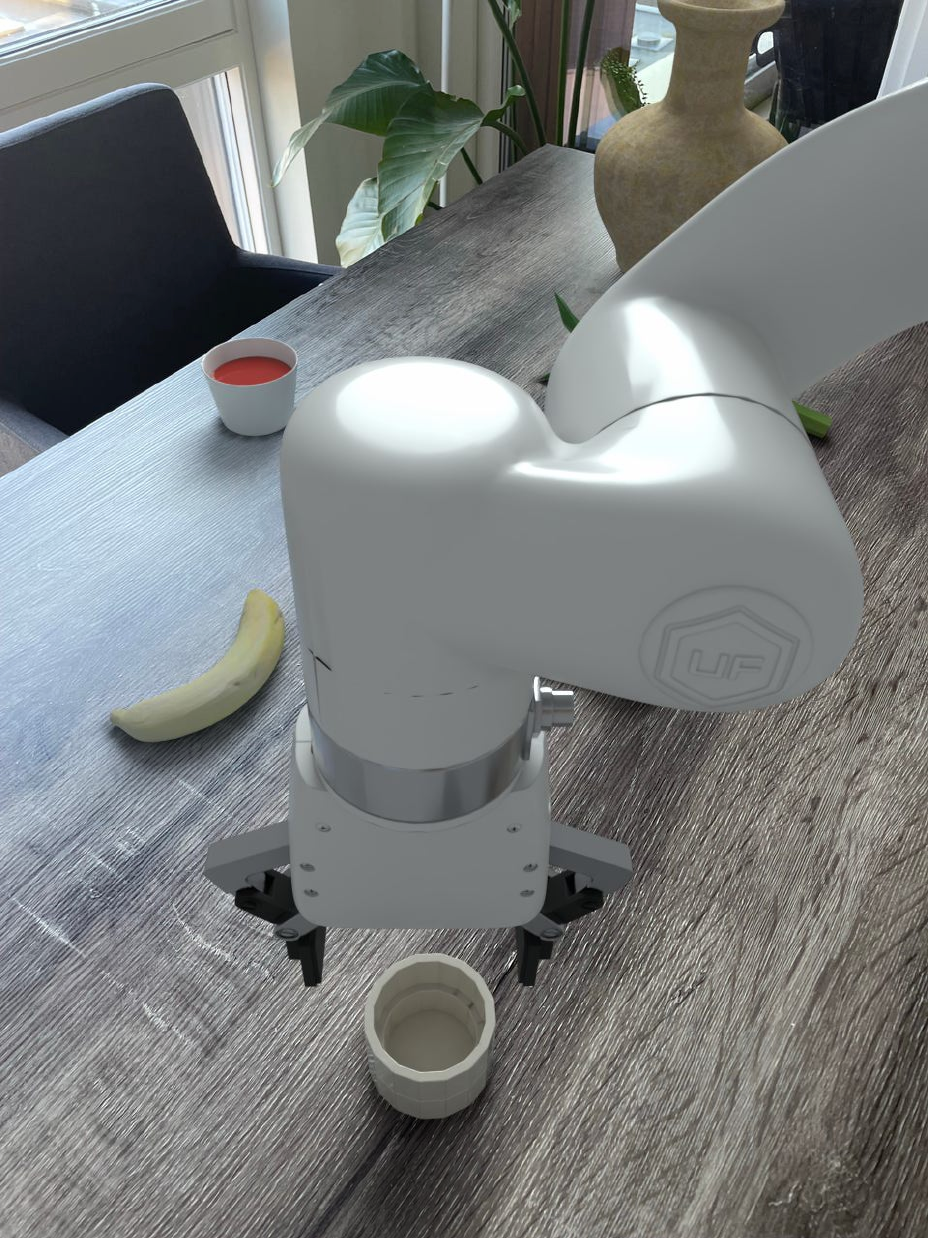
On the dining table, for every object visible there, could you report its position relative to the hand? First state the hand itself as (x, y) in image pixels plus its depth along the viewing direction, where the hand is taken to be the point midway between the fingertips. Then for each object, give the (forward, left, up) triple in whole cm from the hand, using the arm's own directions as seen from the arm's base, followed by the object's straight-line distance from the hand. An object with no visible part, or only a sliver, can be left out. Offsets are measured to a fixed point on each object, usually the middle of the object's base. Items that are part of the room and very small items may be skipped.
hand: (420, 956), depth 46 cm
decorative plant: (-1, -71, -12) cm, 72 cm away
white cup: (0, 0, -12) cm, 12 cm away
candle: (+38, -53, -12) cm, 66 cm away
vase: (+5, -99, -12) cm, 100 cm away
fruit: (+25, -21, -12) cm, 35 cm away
